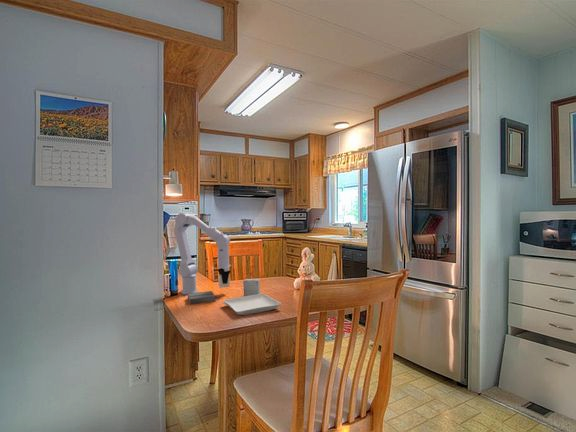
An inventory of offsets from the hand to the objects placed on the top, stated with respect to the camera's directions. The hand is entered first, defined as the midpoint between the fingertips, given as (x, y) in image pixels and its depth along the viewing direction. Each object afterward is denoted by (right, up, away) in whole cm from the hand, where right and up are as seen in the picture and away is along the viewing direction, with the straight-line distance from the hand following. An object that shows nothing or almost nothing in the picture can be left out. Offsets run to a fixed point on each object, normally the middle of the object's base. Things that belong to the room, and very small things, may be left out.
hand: (224, 282), depth 174 cm
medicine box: (+16, -6, -6) cm, 18 cm away
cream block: (0, -2, 0) cm, 2 cm away
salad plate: (+18, -7, -27) cm, 33 cm away
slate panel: (-9, -7, -11) cm, 16 cm away
